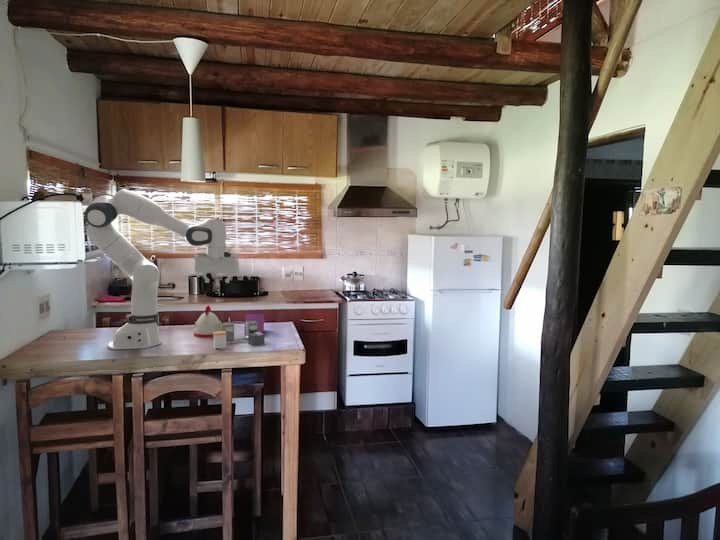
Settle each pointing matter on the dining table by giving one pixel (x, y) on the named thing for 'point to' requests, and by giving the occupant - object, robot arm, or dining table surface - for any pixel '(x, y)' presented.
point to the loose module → (219, 339)
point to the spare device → (256, 339)
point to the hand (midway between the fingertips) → (217, 282)
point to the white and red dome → (207, 324)
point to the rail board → (229, 329)
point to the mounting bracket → (258, 318)
